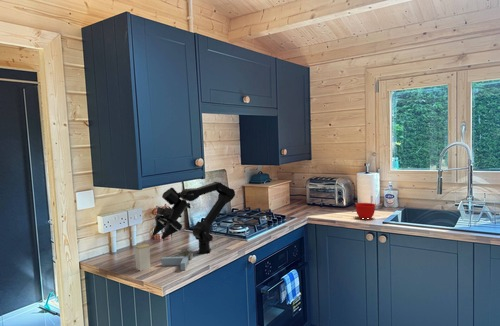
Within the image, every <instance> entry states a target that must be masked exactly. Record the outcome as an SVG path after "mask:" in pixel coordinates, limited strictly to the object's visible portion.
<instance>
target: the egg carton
mask: <svg viewBox="0 0 500 326" xmlns="http://www.w3.org/2000/svg"><path fill="white" fill-rule="evenodd" d="M183 256H188V261H192V260H193V256H194V253H192V252H190V251H189V250H188V249H184V250H181V251H180V252H178V253H174V254H172V255H170V256H169V255H168V257H183Z"/></svg>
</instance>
